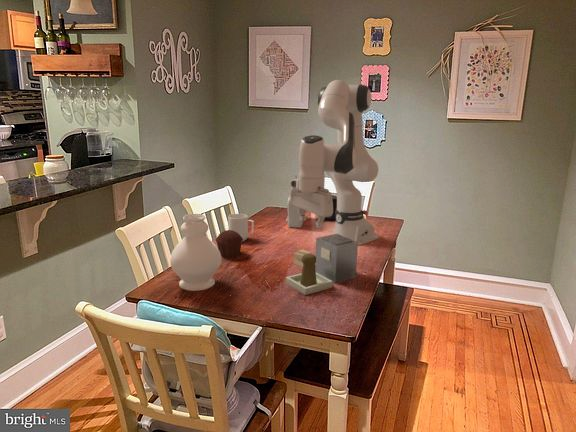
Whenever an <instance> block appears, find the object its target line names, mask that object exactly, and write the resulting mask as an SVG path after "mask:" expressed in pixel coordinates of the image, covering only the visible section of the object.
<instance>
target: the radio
mask: <svg viewBox="0 0 576 432" xmlns="http://www.w3.org/2000/svg"><path fill="white" fill-rule="evenodd" d="M297 175H298V174H297V173H295V174H294V176H295V179H298V177H297ZM286 204H287V205H286V211H287V212H286V213H287V217H286V219H285V222H287V226H288V228H296V229H300V228H302V227H303V224H304V221H301V220H300V215H299V213H298V210H297V207H295V206H292V204H291V202H290V196H288V198H287V202H286ZM304 214H305V215H306V210H304Z"/></svg>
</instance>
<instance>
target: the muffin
mask: <svg viewBox="0 0 576 432" xmlns="http://www.w3.org/2000/svg"><path fill="white" fill-rule="evenodd" d="M242 240H243V238H242V237H241V236H240V235H239V234H238V233H237V232H235V231H233V230H228V229H226V230H223V231H222V232H220V233H219V234H218V236H217V237H216V238H215V242H216V247H217V248H218V249H219V251H220V254H221V258H229V259H231V258H236V257H238V256H240V255H241V248H242V242H243V241H242Z"/></svg>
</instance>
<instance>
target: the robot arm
mask: <svg viewBox="0 0 576 432" xmlns="http://www.w3.org/2000/svg"><path fill="white" fill-rule="evenodd" d="M372 98H373V97H372V92H371V89H370V88H369V86H368V85H366V84H351V83H350V84H348V83H347V82H346V81H343V80H341V79H335V80H331V82H329V83H328V84H327V86H324V87H321V88H320V89H319V90H318V93H317V99H316V100H317V105H318V108H317V113H318V117H319V119H320V121H321V122H322V123H323V124H324V125H326V126H327V127H329V128H332V129H334V130H336V136H337V137H336V139H337V143H336V144H335V143H325V140H324V138H323V136H320V135H314V134H313V135H306V136H304V137H302V138H301V141H300V146H299V154H298V166H299V172H298V178H297V179H296V178H295V179H291V180H290V181H289V186H290V187H291V188H290V190H289V191H290V192H289V197H290V202H291V204H292V206H295V207H297V210H298V213H299V215H300V220H301V221H303V222H304V221H306V219H307V216H306V213H305V214H304V210H305V212H309V213H311V214H314V215H317V221H315V227H317V228H322V227H323V222H324V221H325V220H324V219H325V217H330V216H332V214H333V201H332V196H331V195H332V193H331V191H330V190H329V189H328V188H325V182H326V181H325V178H326V177H325V176H326V175H327V176H328V177H329V178H330V180H331V182H333V185H334V188H335V191H336V196H337V209H336V216H335V217H336V220H335V223H334V231H333V234H339V235H342V236H344V237H347V238H349V239H352V240H354V241H356V242H358V246H362V245H365V244H368V243H370V242H372V241H375V240H378V239H379V238H380V237H379V235H378V234H377V233H375V227H374V225H373V224H372V222H370V221H368V220H367V218H366V217H364V216H367V215H368V214H369V211H368V210H364V209H362V197H363V195H362V192H361V191H360V190H359V189H358V188H356V186H355V184H354V182H358V183H359V182H360V183H367V182H373V181H374V180H375V179H377V177H378V173H379V166H378V163H377V161H376V160H375V159H374V158H372V156H371V155H370V153H369V151H368V149H367V147H366V145H365V141H364V130H363V129H364V126H363V125H364V123H363V122H364V121H363V113H364V112H366V111H367V110H368V109H369V108H370V106H371V103H372ZM325 173H326V175H325Z"/></svg>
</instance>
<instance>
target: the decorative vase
mask: <svg viewBox="0 0 576 432" xmlns="http://www.w3.org/2000/svg"><path fill="white" fill-rule="evenodd" d="M182 217H183V218H182V220H183V221H184V222H183V223H182V224H181V226H180V231H181V232H182V234H183V235H185V236H184V237H183V238H182V239H181V240H180V241H179V242H178V243H177V244H176V246H175V247H174V248H173V250H172V252H171V254H170V259H169V260H170V261H169V262H170V263H169V264H170V267H171V269H172V271H173V272H174V273H175V274H176V275H177V276H178V277H179V278H180V279H181V280H180V281H179V282H178V284H179V285H178V286H179V287H180V289H182V290H185V291H190V292H196V291H197V292H198V291H204V290H208V289H210V288H212V287H213V286H214V285H215V284H216V281H215V279H214V278H213V276H214V275H215V274H216V272H217V271H219V268H220V267H221V264H222V256H221V254H220V251H219V249H218V246H217V244H215V243H214V242H213V241H212V240H211V239H210V238H209V237H208V236H206V235H205V234H206V233H208V231H209V225H208V223H207V222H206V221H204V220H206V215H204V214H202V213H188V214H186V215H183V216H182Z"/></svg>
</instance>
